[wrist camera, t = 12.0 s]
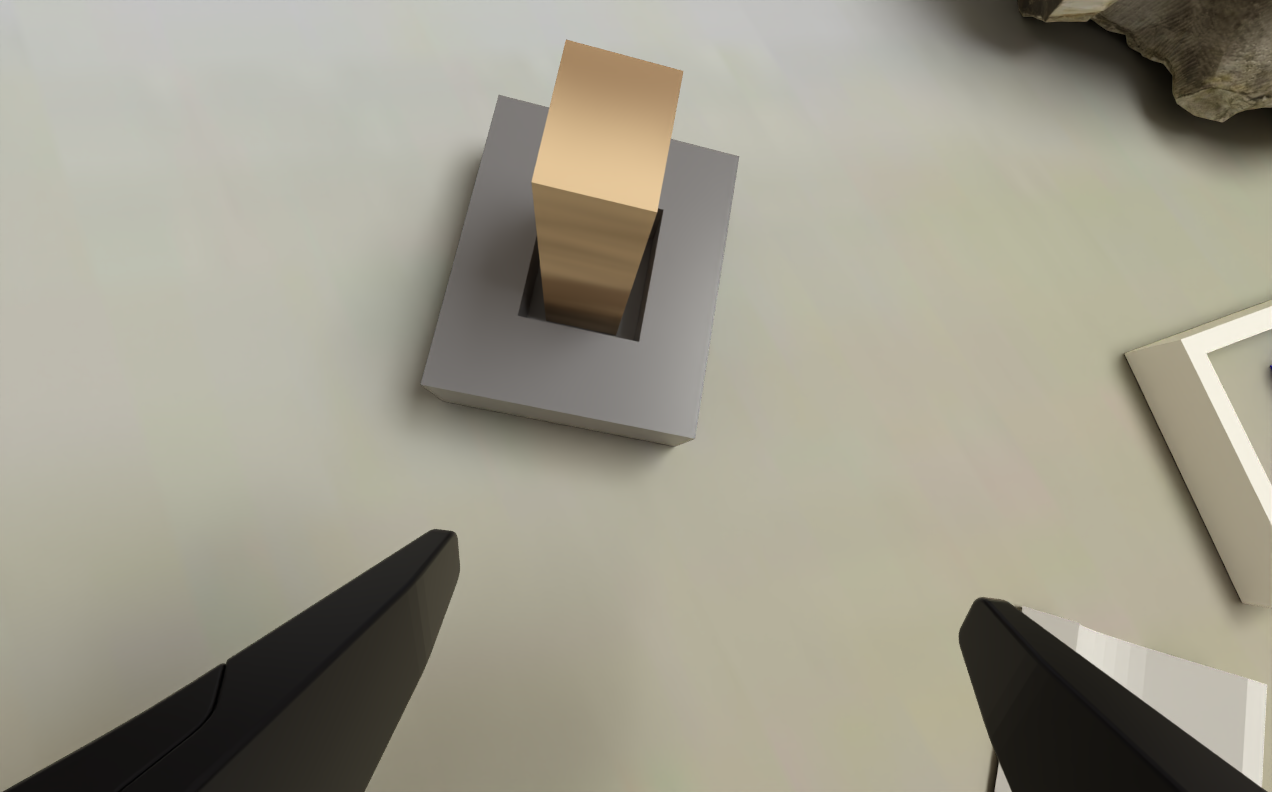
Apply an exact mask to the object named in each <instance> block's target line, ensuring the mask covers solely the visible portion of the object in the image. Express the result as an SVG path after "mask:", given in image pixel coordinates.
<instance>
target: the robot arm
mask: <svg viewBox="0 0 1272 792" xmlns="http://www.w3.org/2000/svg"><path fill="white" fill-rule="evenodd" d="M459 573H460V560H459V549H458V538H457V535H456V533H455V532H453V531H448V530H439V529H433V530H430V531H428V532H427V533H425V534H423V535H422V536H420V537H419V538H417V539H416V540H414V541H413V542H411V543H409V544H408V545H406V546H405V547H403V548H402V549H400V550H398V551H397V552H395V553H394V554H392V555H391V556H389V557H387V558H386V559H384V560H383V561H381V562H380V563H378V564H377V565H375V566H373V567H372V568H370V569H369V570H367V571H366V572H364V573H362V574H361V575H359V576H358V577H356V578H355V579H353V580H351V581H350V582H348V583H347V584H345V585H344V586H342V587H340V588H339V589H337V590H336V591H334V592H333V593H331V594H330V595H328V596H326V597H325V598H323V599H322V600H320V601H319V602H317V603H315V604H314V605H312V606H311V607H309V608H308V609H306V610H304V611H303V612H301V613H300V614H298V615H297V616H295V617H293V618H292V619H290V620H289V621H287V622H286V623H284V624H283V625H281V626H279V627H278V628H276V629H275V630H273V631H272V632H270V633H268V634H267V635H265V636H264V637H262V638H261V639H259V640H257V641H256V642H254V643H253V644H251V645H250V646H248V647H247V648H245V649H243V650H242V651H240V652H239V653H237V654H236V655H234V656H232V657H231V658H229V659H228V660H227V662H226V664H224V663H222V664H220V665H218V666H216V667H215V668H213V669H212V670H210V671H209V672H207V673H205V674H204V675H202V676H201V677H199V678H198V679H196V680H195V681H193V682H191V683H190V684H188V685H186V686H185V687H183V688H182V689H180V690H178V691H177V692H175V693H173V694H172V695H170V696H169V697H167V698H165V699H164V700H162V701H160V702H159V703H157V704H156V705H154V706H152V707H151V708H149V709H148V710H146V711H144V712H142V713H141V714H139V715H137V716H135V717H134V718H132V719H130V720H129V721H127V722H125V723H123V724H122V725H120V726H118V727H116V728H115V729H113V730H111V731H109V732H108V733H106V734H104V735H103V736H101V737H99V738H97V739H96V740H94V741H92V742H90V743H89V744H87V745H85V746H83V747H81V748H80V749H78V750H76V751H74V752H73V753H71V754H69V755H67V756H65V757H64V758H62V759H60V760H58V761H56V762H55V763H53V764H51V765H49V766H48V767H46V768H44V769H42V770H40V771H39V772H37V773H35V774H33V775H31V776H30V777H28V778H26V779H24V780H23V781H21V782H19V783H17V784H15V785H14V786H12V787H10V788H8V789H6V790H5V791H3V792H364V791H365V789H366V787H367V785H368V783H369V781H370V779H371V777H372V775H373V773H374V771H375V769H376V767H377V765H378V763H379V761H380V759H381V757H382V755H383V753H384V751H385V749H386V747H387V745H388V743H389V741H390V738H391V736H392V734H393V732H394V730H395V728H396V726H397V724H398V722H399V720H400V718H401V716H402V714H403V712H404V710H405V708H406V706H407V704H408V702H409V700H410V698H411V696H412V694H413V692H414V690H415V688H416V685H417V683H418V681H419V679H420V677H421V675H422V673H423V671H424V669H425V666H426V664H427V662H428V659H429V657H430V654H431V652H432V649H433V646H434V644H435V641H436V638H437V636H438V633H439V630H440V627H441V625H442V622H443V619H444V616H445V614H446V611H447V608H448V606H449V603H450V600H451V597H452V595H453V592H454V589H455V586H456V584H457V581H458V577H459ZM959 644H960V648H961V651H962V654H963V657H964V661H965V664H966V667H967V670H968V673H969V676H970V680H971V683H972V686H973V689H974V692H975V695H976V699H977V702H978V705H979V708H980V711H981V714H982V717H983V721H984V724H985V727H986V729H987V732H988V735H989V738H990V741H991V743H992V746H993V748H994V751H995V753H996V756H997V758H998V761H999V763H1000V765H1001V768H1002V770H1003V772H1004V775H1005V777H1006V780H1007V782H1008V784H1009V787H1010V789H1011V791H1012V792H1267V791H1266V790H1264V789H1263V788H1262V787H1260V786H1259V785H1258V784H1256V783H1255V782H1253V781H1252V780H1251V779H1249V778H1248V777H1247V776H1245V775H1244V774H1243V773H1241V772H1240V771H1238V770H1237V769H1236V768H1234V767H1233V766H1232V765H1230V764H1229V763H1227V762H1226V761H1225V760H1223V759H1222V758H1221V757H1219V756H1218V755H1217V754H1215V753H1214V752H1212V751H1211V750H1210V749H1208V748H1207V747H1206V746H1204V745H1203V744H1201V743H1200V742H1199V741H1197V740H1196V739H1195V738H1193V737H1192V736H1191V735H1189V734H1188V733H1186V732H1185V731H1184V730H1182V729H1181V728H1180V727H1178V726H1177V725H1176V724H1174V723H1173V722H1171V721H1170V720H1169V719H1167V718H1166V717H1165V716H1163V715H1162V714H1160V713H1159V712H1158V711H1156V710H1155V709H1154V708H1152V707H1151V706H1150V705H1148V704H1147V703H1145V702H1144V701H1143V700H1141V699H1140V698H1139V697H1137V696H1136V695H1135V694H1133V693H1132V692H1130V691H1129V690H1128V689H1126V688H1125V687H1124V686H1122V685H1121V684H1119V683H1118V682H1117V681H1115V680H1114V679H1113V678H1111V677H1110V676H1109V675H1107V674H1106V673H1104V672H1103V671H1102V670H1100V669H1099V668H1098V667H1096V666H1095V665H1094V664H1092V663H1091V662H1089V661H1088V660H1087V659H1085V658H1084V657H1083V656H1081V655H1080V654H1078V653H1077V652H1076V651H1074V650H1073V649H1072V648H1070V647H1069V646H1068V645H1066V644H1065V643H1063V642H1062V641H1061V640H1059V639H1058V638H1057V637H1055V636H1054V635H1053V634H1051V633H1050V632H1048V631H1047V630H1046V629H1044V628H1043V627H1042V626H1040V625H1039V624H1037V623H1036V622H1035V621H1033V620H1032V619H1031V618H1029V617H1028V616H1027V615H1025V614H1024V613H1022V612H1021V611H1020V610H1018V609H1017V608H1016V607H1014V606H1013V605H1012V604H1010V603H1009V602H1007V601H1005V600H1001V599H994V598H986V597H980V598H978V599H976V600H975V601H974V602H973V604H972V606H971V608H970V610H969V612H968V614H967V616H966V618H965V620H964V622H963V624H962V626H961V628H960V631H959Z"/></svg>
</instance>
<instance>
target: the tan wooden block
mask: <svg viewBox="0 0 1272 792" xmlns="http://www.w3.org/2000/svg"><path fill="white" fill-rule="evenodd" d="M682 75H683V71H681V70H677V69H674V68H670V67H666V66H663V65H659V64H655V63H651V62H648V61H644V60H640V59H636V58H633V57H629V56H625V55H622V54H618V53H614V52H610V51H607V50H603V49H599V48H596V47H592V46H588V45H584V44H581V43H577V42H573V41H569V40H566V42H565V46H564V50H563V54H562V58H561V62H560V67H559V71H558V75H557V79H556V83H555V87H554V91H553V95H552V99H551V104H550V108H549V112H548V116H547V120H546V124H545V128H544V132H543V136H542V141H541V145H540V149H539V153H538V157H537V161H536V165H535V169H534V173H533V178H532V182H531V183H532V193H533V202H534V212H535V221H536V231H537V240H538V249H539V259H540V268H541V278H542V287H543V297H544V306H545V316H546V321H550V322H555V323H560V324H565V325H569V326H574V327H579V328H583V329H588V330H593V331H597V332H602V333H607V334H612V335H616V334H617V331H618V328H619V325H620V322H621V319H622V316H623V313H624V310H625V307H626V304H627V301H628V298H629V295H630V292H631V289H632V286H633V283H634V280H635V277H636V274H637V271H638V268H639V265H640V262H641V259H642V256H643V253H644V250H645V247H646V244H647V241H648V238H649V235H650V232H651V229H652V226H653V223H654V220H655V217H656V214H657V210H658V205H659V200H660V194H661V189H662V183H663V178H664V173H665V167H666V162H667V156H668V151H669V146H670V140H671V135H672V129H673V124H674V119H675V113H676V108H677V102H678V97H679V92H680V86H681V81H682Z"/></svg>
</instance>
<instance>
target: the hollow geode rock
mask: <svg viewBox="0 0 1272 792" xmlns="http://www.w3.org/2000/svg"><path fill="white" fill-rule="evenodd" d="M1018 7H1019V11H1020V13H1021V14H1022V16H1023V17H1031V16H1033V17H1035V18H1037V19H1039V20H1042V21H1044V22H1087V21H1088V20H1089V19H1092V20H1093V21H1094V22H1096V23H1097V24H1099V25H1100V26H1101V27H1103V28H1104V29H1105V30H1107V31H1112V32H1116V33H1120V34H1124V35H1126V40H1127V45H1128V46H1129V47H1130V48H1132V49H1133V50H1135V51H1137V52H1139V53H1141V54H1142V56H1143V57H1146V58H1148V59H1150V60H1152V61H1155V62H1160V63H1163V64H1164V65H1165V66H1166V68H1167V69H1168V70H1169V71H1170V73H1171V74H1172V75H1173V79H1172V93H1173V95H1174V98H1175V100H1176V103H1177V104H1178V105H1180V106H1181V107H1183V108H1184V109H1185V110H1187V111H1188V112H1190V113H1191V114H1193V115H1194V116H1197V117H1201V118H1205V119H1210V120H1214V121H1219V122H1224V121H1226V120H1227V119H1229V118H1231V117H1232V116H1234V115H1235V114H1237V113H1239V112H1242V111H1245V110H1250V109H1257V108H1264V107H1269V108H1272V0H1018Z"/></svg>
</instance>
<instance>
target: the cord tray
mask: <svg viewBox="0 0 1272 792" xmlns="http://www.w3.org/2000/svg"><path fill="white" fill-rule="evenodd" d="M1269 329H1272V300H1269V301H1266V302H1264V303H1261V304H1258V305H1255V306H1253V307H1250V308H1247V309H1244V310H1242V311H1239V312H1236V313H1234V314H1231V315H1228V316H1225V317H1223V318H1220V319H1217V320H1214V321H1212V322H1209V323H1206V324H1203V325H1201V326H1198V327H1195V328H1192V329H1190V330H1187V331H1184V332H1181V333H1179V334H1176V335H1173V336H1170V337H1168V338H1165V339H1162V340H1159V341H1157V342H1154V343H1151V344H1149V345H1146V346H1143V347H1140V348H1138V349H1135V350H1132V351H1129V352H1127V353H1124V354H1125V356H1126V358H1127V360H1128V362H1129V364H1130V367H1131V369H1132V371H1133V373H1134V375H1135V377H1136V379H1137V381H1138V383H1139V386H1140V388H1141V390H1142V392H1143V394H1144V396H1145V398H1146V400H1147V403H1148V405H1149V407H1150V409H1151V411H1152V413H1153V415H1154V417H1155V419H1156V422H1157V424H1158V426H1159V428H1160V430H1161V432H1162V434H1163V436H1164V438H1165V441H1166V443H1167V445H1168V447H1169V449H1170V451H1171V453H1172V455H1173V458H1174V460H1175V462H1176V464H1177V466H1178V468H1179V470H1180V472H1181V474H1182V477H1183V479H1184V481H1185V483H1186V485H1187V487H1188V489H1189V491H1190V493H1191V496H1192V498H1193V500H1194V502H1195V504H1196V506H1197V508H1198V510H1199V512H1200V515H1201V517H1202V519H1203V521H1204V523H1205V525H1206V527H1207V529H1208V532H1209V534H1210V536H1211V538H1212V540H1213V542H1214V544H1215V546H1216V548H1217V551H1218V553H1219V555H1220V557H1221V559H1222V561H1223V563H1224V565H1225V567H1226V570H1227V572H1228V574H1229V576H1230V578H1231V580H1232V582H1233V584H1234V586H1235V589H1236V591H1237V593H1238V595H1239V597H1240V599H1241V601H1242V603H1244V604H1250V605H1256V606H1262V607H1268V608H1272V485H1271V483H1270V481H1269V479H1268V477H1267V475H1266V473H1265V471H1264V469H1263V467H1262V465H1261V463H1260V461H1259V459H1258V457H1257V455H1256V453H1255V451H1254V449H1253V447H1252V445H1251V443H1250V441H1249V439H1248V437H1247V435H1246V433H1245V431H1244V429H1243V427H1242V425H1241V423H1240V421H1239V419H1238V417H1237V415H1236V413H1235V411H1234V408H1233V406H1232V404H1231V402H1230V400H1229V398H1228V396H1227V394H1226V392H1225V390H1224V388H1223V386H1222V384H1221V382H1220V380H1219V378H1218V376H1217V374H1216V372H1215V370H1214V368H1213V366H1212V364H1211V362H1210V360H1209V358H1208V356H1207V354H1206V353H1209V352H1211V351H1214V350H1217V349H1219V348H1222V347H1225V346H1227V345H1230V344H1232V343H1235V342H1238V341H1240V340H1243V339H1246V338H1248V337H1251V336H1254V335H1256V334H1259V333H1261V332H1264V331H1267V330H1269Z"/></svg>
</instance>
